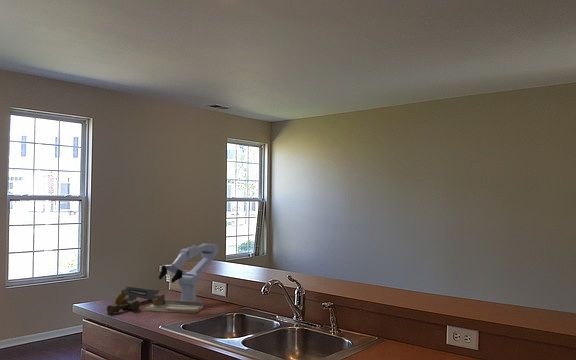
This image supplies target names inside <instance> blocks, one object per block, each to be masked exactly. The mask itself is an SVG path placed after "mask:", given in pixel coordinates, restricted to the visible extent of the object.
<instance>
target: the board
mask: <svg viewBox="0 0 576 360" xmlns="http://www.w3.org/2000/svg"><path fill="white" fill-rule="evenodd" d="M153 305H154V303H152V304H150V305H148V306H146V307H145V308H144V310H145V311H148V312H161V313H162V312H164V313H165V312H167V313H179V314H181V313H182V314H196V313H197V312H199V311H200V310H202V309H203V308H204V301H200V300H197V301H182V300H181V299H180V300H177V299H165V304H163V305H161V306H155V305H154V306H153Z"/></svg>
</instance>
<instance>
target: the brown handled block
mask: <svg viewBox="0 0 576 360" xmlns="http://www.w3.org/2000/svg"><path fill="white" fill-rule="evenodd" d="M165 295H166V294H165V293H158V294H156V295H154V300H151V301H152V303H153V304H154V305H155V306H161V305H163V304H165V300H166V298H165V297H166V296H165ZM154 305H153V306H154Z"/></svg>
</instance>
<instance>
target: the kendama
mask: <svg viewBox="0 0 576 360" xmlns="http://www.w3.org/2000/svg"><path fill="white" fill-rule="evenodd" d="M140 308H141V302H140V301H139V300H133V301H130V300H129V298H128V297H125V298H124V299H123V300H122V302H121V305H117V304H115V303H114V305H111V304H109V305H107V307H106V312H107V314H108V315H113V314H114V313H119V312H120V311H121V310H125V309H130V310H131V311H132V312H136V311H138V310H139V309H140Z"/></svg>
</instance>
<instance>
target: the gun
mask: <svg viewBox="0 0 576 360" xmlns="http://www.w3.org/2000/svg"><path fill="white" fill-rule="evenodd" d="M156 294H160V289H157V288H155V289H153V288H149V287H148V288H145V287H137V286H136V287H135V286H127V285H126V286H125V287H124V288H123V289H121V293H120V294H119V295H118V296H117V297H116V299H115V301H114V305H115V304H117V305H121V302H122V300H123V299H124V298H129V300H130V301H131V302H134V301H136V300H137V298H140V299H144V300H149V301H152V300H154V295H156ZM127 296H128V297H127Z"/></svg>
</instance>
